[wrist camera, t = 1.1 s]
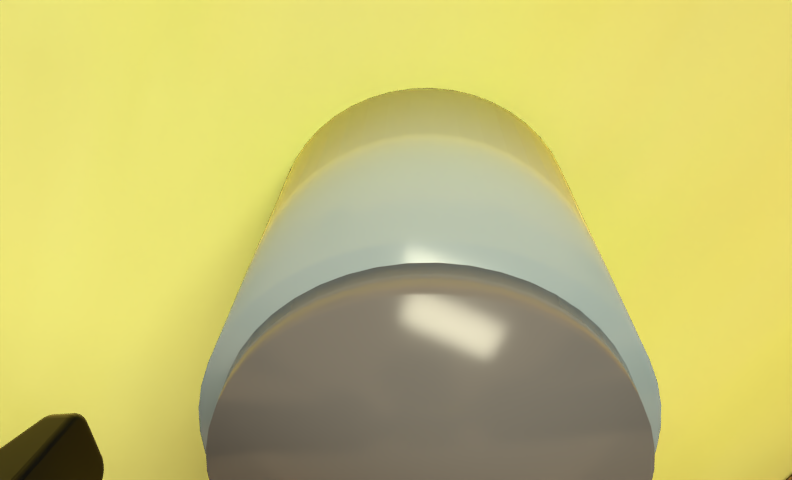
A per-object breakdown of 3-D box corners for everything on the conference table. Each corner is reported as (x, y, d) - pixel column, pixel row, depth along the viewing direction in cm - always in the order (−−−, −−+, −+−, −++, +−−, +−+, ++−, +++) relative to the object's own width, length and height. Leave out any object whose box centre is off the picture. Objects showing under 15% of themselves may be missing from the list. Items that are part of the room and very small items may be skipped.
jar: (574, 73, 11) (706, 251, 6) (568, 337, 14) (656, 619, 9) (253, 103, 12) (120, 293, 7) (305, 353, 14) (241, 632, 9)
